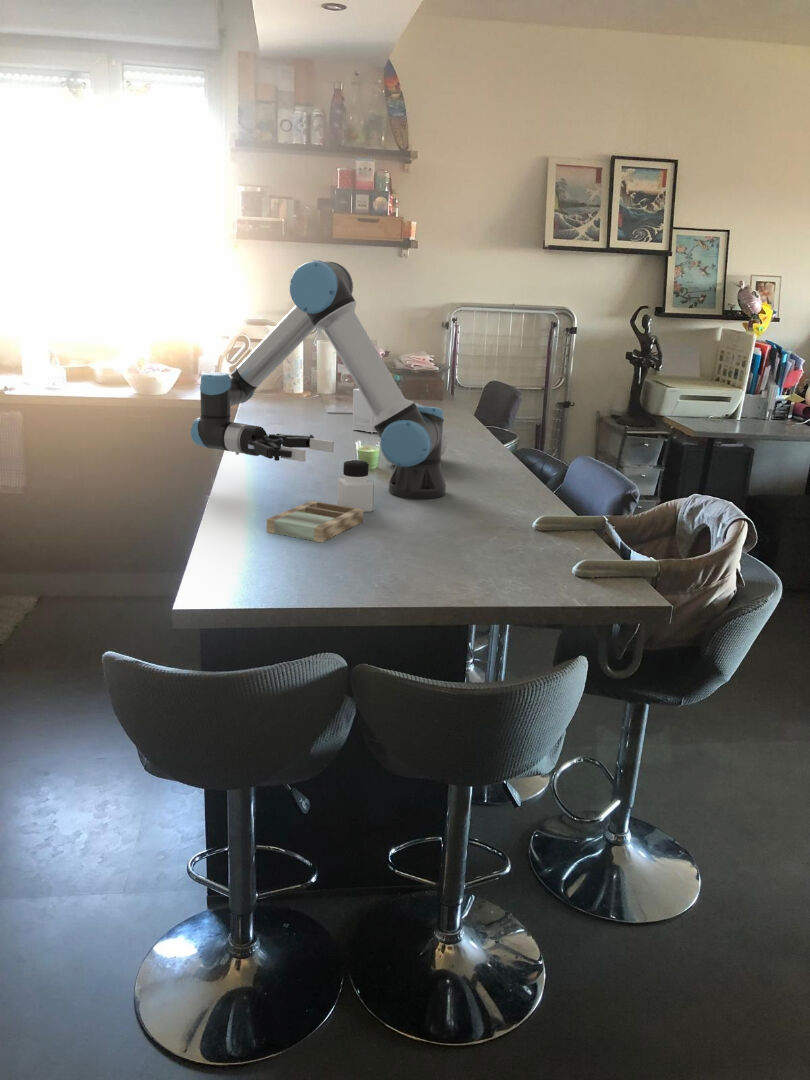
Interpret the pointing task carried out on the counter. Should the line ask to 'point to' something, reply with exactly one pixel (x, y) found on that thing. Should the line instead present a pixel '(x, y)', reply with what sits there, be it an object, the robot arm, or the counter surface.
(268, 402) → the counter surface
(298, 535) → the board
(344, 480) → the medicine bottle
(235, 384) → the robot arm
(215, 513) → the counter surface
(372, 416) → the supplement box
